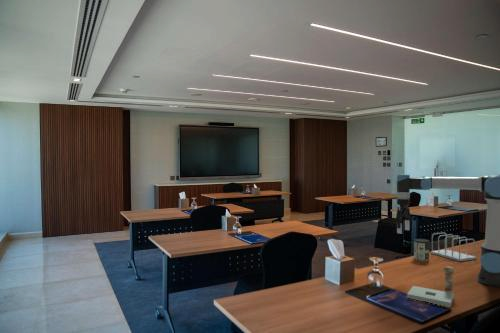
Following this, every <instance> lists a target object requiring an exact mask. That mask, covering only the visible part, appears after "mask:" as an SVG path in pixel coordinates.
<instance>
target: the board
mask: <svg viewBox="0 0 500 333" xmlns="http://www.w3.org/2000/svg"><path fill="white" fill-rule="evenodd" d="M407 298H411V299H416V300H421V301H426V302H429V303H428V304H430V303H433V304H432V305H435V304H437V305H436V306H440V305H441V307H444V306H445V308H449V307H450V308H451V307H452V304H453V301H454V299H455V293H454V292H452V293H449V292H445V290H444V291H443V290H438V289H433V288H427V287H422V286H417V285H412V287H411V288H410V290H409V291H408V292H407V294H406V299H407ZM411 299H410V300H411ZM416 300H415V301H416ZM421 301H420V302H421Z"/></svg>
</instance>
